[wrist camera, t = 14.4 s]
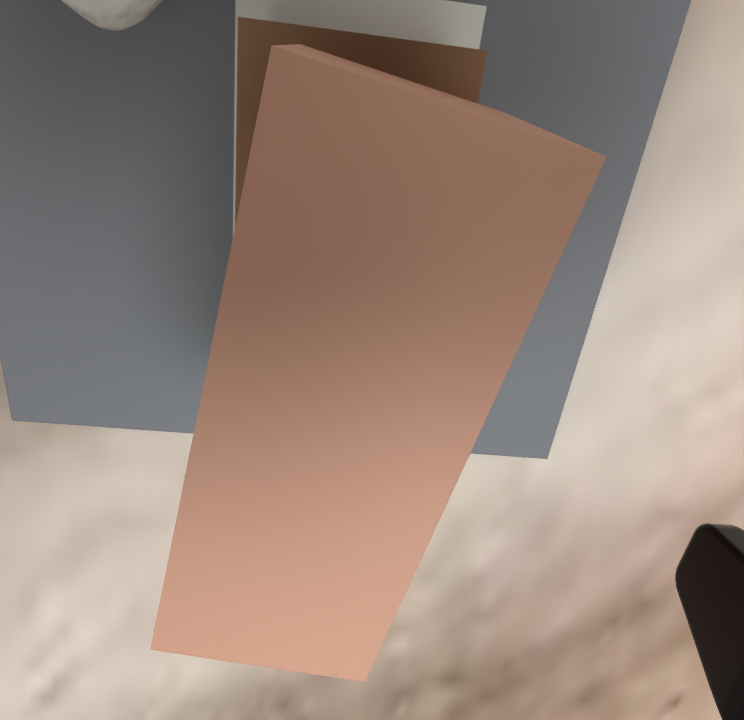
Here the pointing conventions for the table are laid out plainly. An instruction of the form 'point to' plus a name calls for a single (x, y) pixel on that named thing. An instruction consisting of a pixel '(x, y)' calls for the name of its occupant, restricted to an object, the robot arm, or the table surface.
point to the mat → (218, 187)
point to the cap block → (355, 355)
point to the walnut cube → (390, 55)
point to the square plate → (113, 12)
